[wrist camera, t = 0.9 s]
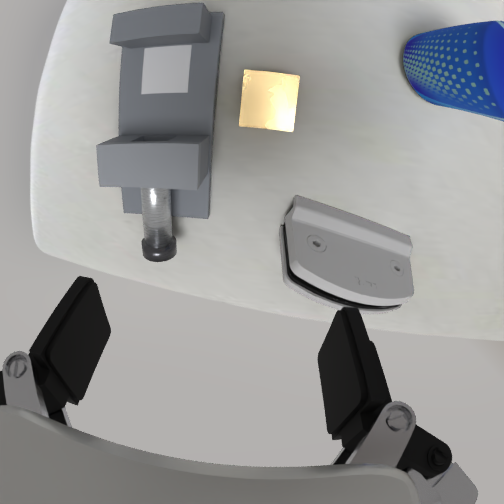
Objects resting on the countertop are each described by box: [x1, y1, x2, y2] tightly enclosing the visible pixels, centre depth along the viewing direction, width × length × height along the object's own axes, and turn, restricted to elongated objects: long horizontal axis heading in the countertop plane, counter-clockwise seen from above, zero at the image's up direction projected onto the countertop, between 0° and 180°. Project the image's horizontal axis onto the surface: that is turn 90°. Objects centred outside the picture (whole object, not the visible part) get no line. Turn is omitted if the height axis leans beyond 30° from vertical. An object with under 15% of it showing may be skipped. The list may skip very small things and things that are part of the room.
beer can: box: [403, 21, 504, 122], centre depth 13 cm, size 8×8×16 cm
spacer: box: [239, 70, 300, 132], centre depth 22 cm, size 5×4×4 cm
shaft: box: [141, 188, 177, 262], centre depth 27 cm, size 11×4×4 cm, turn 175°
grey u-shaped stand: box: [96, 3, 224, 219], centre depth 22 cm, size 22×10×6 cm, turn 175°
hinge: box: [279, 195, 414, 314], centre depth 29 cm, size 17×5×10 cm, turn 74°
